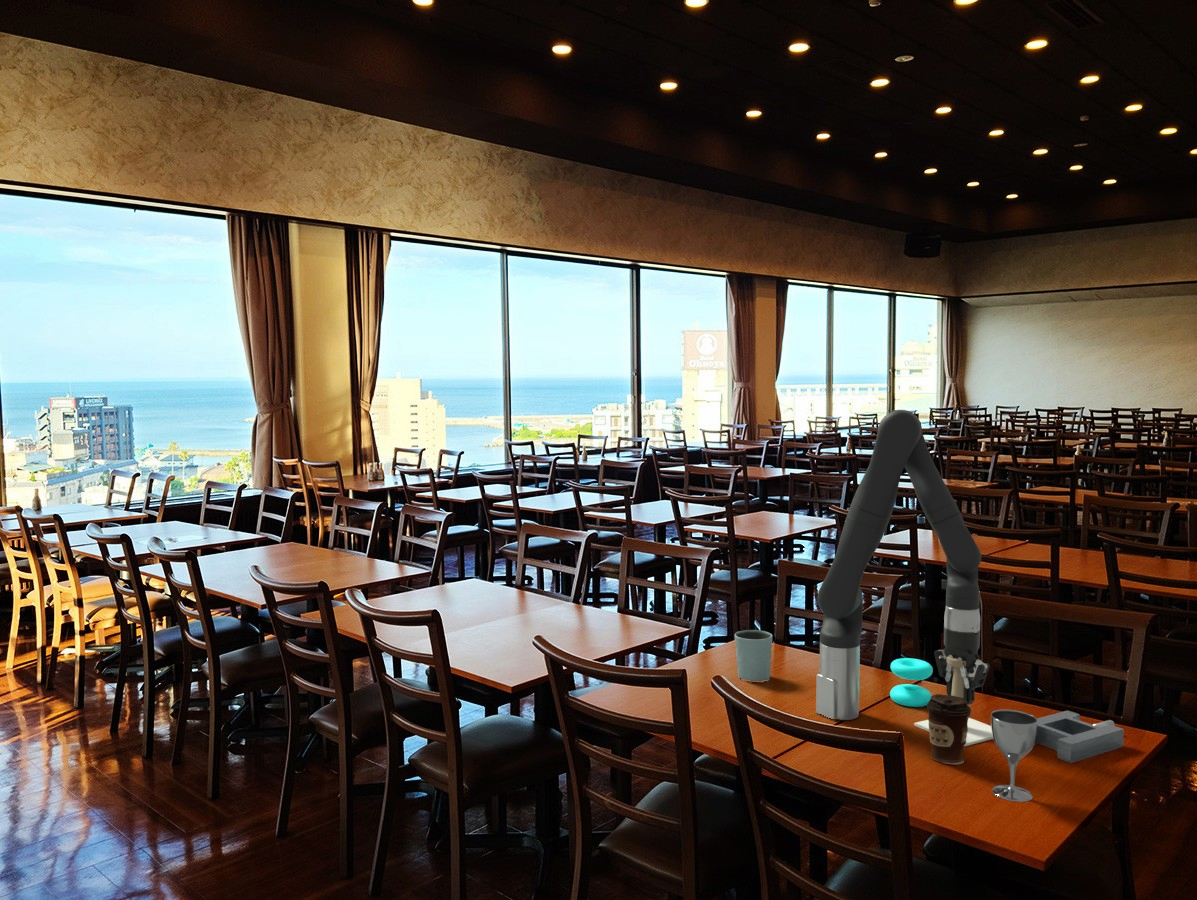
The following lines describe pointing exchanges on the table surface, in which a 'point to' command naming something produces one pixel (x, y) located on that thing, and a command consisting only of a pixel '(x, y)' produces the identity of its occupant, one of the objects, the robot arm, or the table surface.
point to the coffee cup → (948, 727)
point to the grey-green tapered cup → (753, 654)
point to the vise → (1077, 736)
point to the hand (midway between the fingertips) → (960, 700)
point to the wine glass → (1013, 747)
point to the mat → (974, 734)
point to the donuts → (909, 692)
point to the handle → (957, 677)
